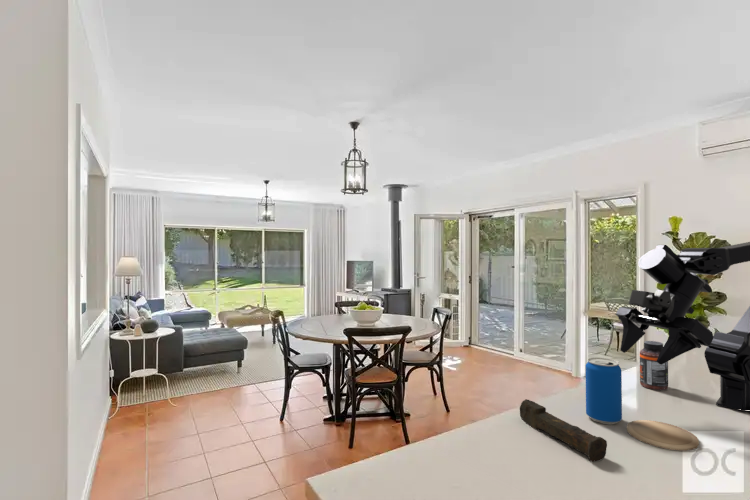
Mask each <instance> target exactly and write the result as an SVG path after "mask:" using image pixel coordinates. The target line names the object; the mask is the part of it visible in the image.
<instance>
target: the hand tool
mask: <svg viewBox="0 0 750 500" xmlns="http://www.w3.org/2000/svg"><path fill="white" fill-rule="evenodd" d="M519 416H520V418H521V419H522V420H523V421H524V422H525V423H526V424H528V426H530V427H531V428H532V429H535V430H542V431H543V432H545V433H547V434H548V435H551V436H552V437H555V438H556V439H558V440H560V441H561V442H563V443H565V444H566V445H568V446H570V447H571V448H573V449H574V450H576V451H578V452H580V453H581V454H584V455H586V456H588V460H589V461H590V462H591V463H595V462H599V461H601V460H604V458H605V457H606V454H607V447H608V441H607V440H606V439H605V438H603V437H601V436H596V435H592V434H591V433H589V432H587V431H586V430H585V429H582V428H580V427H579V426H577V425H573V424H571V423H569V422H566V421H565V420H563V419H561V418H559V417H557V416H554V415H553V414H552V413H549V412H548V411H547V408H546V407H545V406H544V405H540V404H539V403H537V402H535V401H533V400H530V399H524V400H522V401H521V403H520V405H519Z"/></svg>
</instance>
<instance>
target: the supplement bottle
mask: <svg viewBox="0 0 750 500" xmlns="http://www.w3.org/2000/svg"><path fill="white" fill-rule="evenodd" d="M663 347H664V343H663V342H660V341H656V340H655V341H654V340H645V341H643V348H642V349H640V350H639V384H640V385H641V386H642V387H643V388H647V389H650V390H655V391H664V390H667V389H668V388H669V361H667V362H665V363H664V364H662V365H661V364H659V363H657V358H658V356H659V354H660V352H661V350H662V349H663Z"/></svg>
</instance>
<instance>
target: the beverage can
mask: <svg viewBox="0 0 750 500" xmlns="http://www.w3.org/2000/svg"><path fill="white" fill-rule="evenodd" d="M619 363H620V361H617V360H615V359H610V358H604V357H590V358H587V363H585V414H586V415H587V416H588V417H589V418H590V420H592V421H593V422H596V423H599V424H604V425H615V424H618V422H621V421H622V420H623V406H622V405H623V402H622V401H623V399H622V398H623V396H622V395H623V392H622V391H623V390H622V385H623V383H622V375H623V374H622V368H621V367H620V364H619Z"/></svg>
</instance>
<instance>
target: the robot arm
mask: <svg viewBox="0 0 750 500" xmlns="http://www.w3.org/2000/svg"><path fill="white" fill-rule="evenodd" d="M748 262H750V241H747V242H742V243H735V244H730V245H725V246H722V247H685V248H683V249H682V250H680V253H679V254H676V253H675V252H674V251H672V249H671V248H670V247H669V246H668V245H667V244H657V245H656V246H655V248H653V249H650V250H648V251H647V252H646V253H644V254H643V255H641V256H640V258H639V260H638V263H637V265H638V267H639V268H640V269H641V270H643V272H645V273H646V274H647V275H648V276H650V278H652V279H653V280H654V281H655V282H657V283H658V284H660V285H665V286H664V288H663V289H656V290H655V292H651V291H647V290H646V291H645V290H644V291H643V290H637V289H632V290H631V292H630V293H631V294H630V297H629V301H628V304H629V305H631V306H633V305H634V306H637V307H641V311H642V312H643V313H645V314H647V316H646V315H645V314H643V313H642V312H641V311H639V309H637V308H634V307H631V306H624V305H623V306H620V307H619V308H618V309H617V311H616V313H615V316H616V317H618V320H619V321H620V322H621V324H622V328H623V331H622V337H621V344H620V347H619V348H620V349H619V350H620V351H621V353H624V354H625V353H627V352H628V351H629V350H630V349H632V347H634V345H636V343H637V342H639V340H640V339H641V338H643V336H645V334H646V332H645V331H646V330H648V329H649V327H654V328H658V329H663V330H668V338H667V340H666V341H665V343H664V344H663V349H662V350H661V352H660V354H659V356H658V358H657V363H659V364H661V365H662V364H664V363H665V362H667V361H668V362H669V361H671V360H673V359H675V358H677V357H679V356H680V355H682V354H685V353H687V352H690V351H692V350H694V349H701V348H702V346H704V347H706V348H705V350H704V358H705V362H706V365H707V368H708V371H709V373H710V374H712V375H713V374H714V375H717V376H719V380H720V381H719V382H720V383H719V384H720V385H719V387H720V392H719V393H720V396H719V397H718V398H717V400H716V401H715V405H716V406H719V407H724V408H729V409H732V408H733V409H732V410H737V409H741V410H750V305H749V306H748V308H747V309H746V310H745V312H744V313H743V315H742V316H741V317H740V319H739V320H738V322H737V323H736V325H735V326H734V327H733V328H732V330H731V331H729V332H727V333H726V332H722V331H717V332H715V333H713V332H712V330H710V329H709V328H708V327H707V326H706V325H704V324H703V323H702V322H701V321H700V320H698V318H691V317H686V315H687V314H688V315H693V314H694V312H695V309H694V308H692V305H693V304H694V302H695V300H696V299H697V297H698V296H699V295H700V293H702V292H703V293H712V287H711V286H710V284H709V280H708V279H702V278H701V277H700V276H699V275H709V276H714V275H715V276H717V275H718V274H721V273H723V272H726V271H727V270H729V269H730V267H731V266H734V265H737V264H741V263H748ZM741 410H740V411H741Z"/></svg>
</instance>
